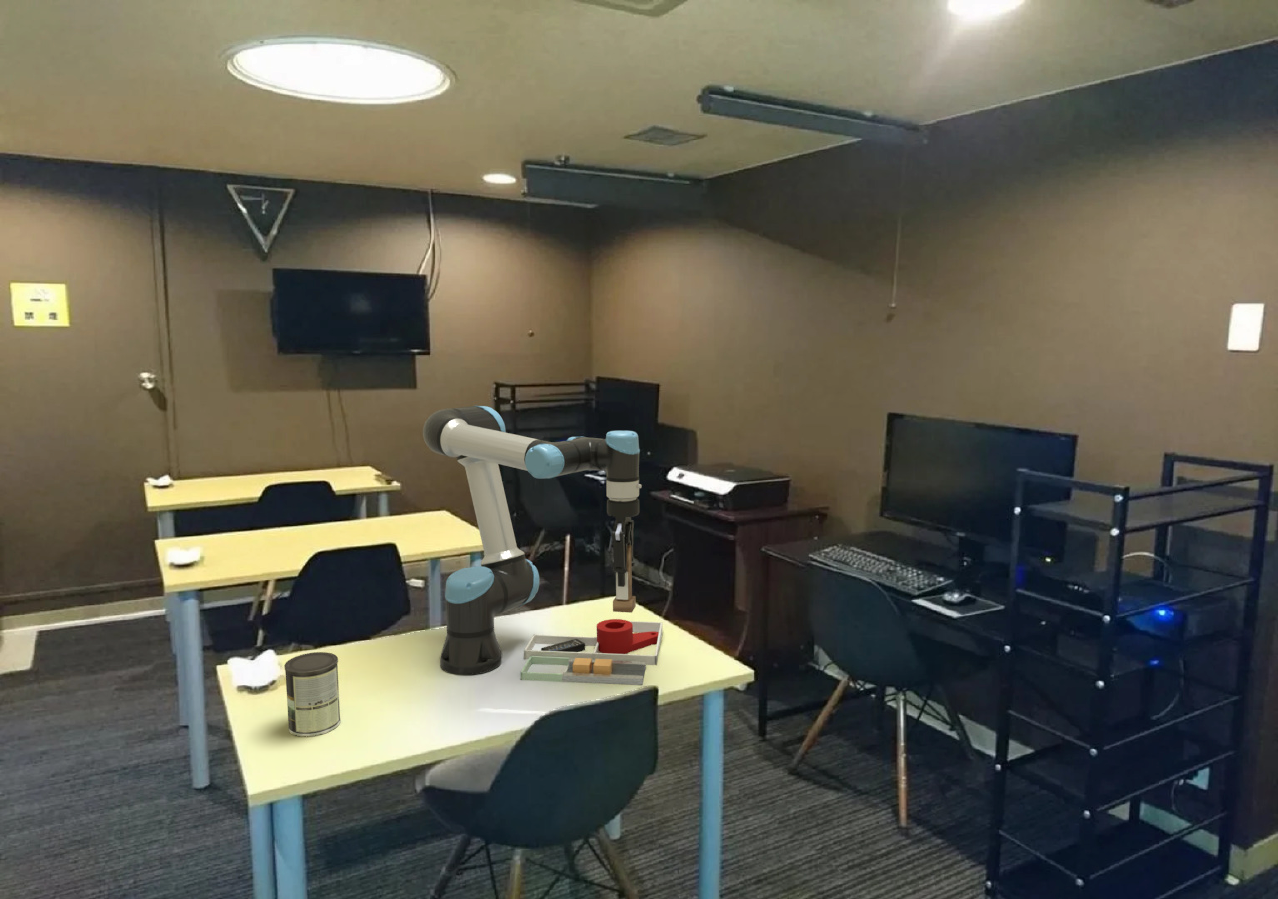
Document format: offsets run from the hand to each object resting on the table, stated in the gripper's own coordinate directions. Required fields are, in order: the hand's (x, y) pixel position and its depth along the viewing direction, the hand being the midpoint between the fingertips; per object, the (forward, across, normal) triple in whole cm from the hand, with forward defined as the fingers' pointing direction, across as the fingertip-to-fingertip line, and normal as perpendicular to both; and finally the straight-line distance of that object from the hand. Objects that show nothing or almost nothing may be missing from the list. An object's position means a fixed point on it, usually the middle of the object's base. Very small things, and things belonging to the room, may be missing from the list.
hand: (623, 596), depth 186 cm
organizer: (+21, +20, +12) cm, 31 cm away
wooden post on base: (+3, 0, 0) cm, 3 cm away
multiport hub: (+21, +13, +19) cm, 31 cm away
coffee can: (+21, -34, +59) cm, 71 cm away
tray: (+21, 0, +20) cm, 29 cm away
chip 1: (+20, +1, +11) cm, 23 cm away
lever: (+21, +21, +3) cm, 30 cm away
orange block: (+20, +2, +6) cm, 21 cm away
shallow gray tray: (+21, +2, +5) cm, 22 cm away
